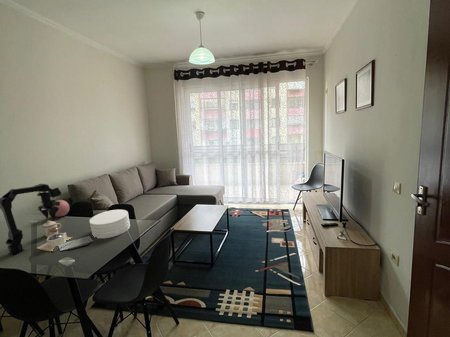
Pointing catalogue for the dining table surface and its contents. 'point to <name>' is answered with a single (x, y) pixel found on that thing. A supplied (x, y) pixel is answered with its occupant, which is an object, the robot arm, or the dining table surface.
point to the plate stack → (109, 223)
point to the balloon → (62, 208)
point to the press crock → (54, 242)
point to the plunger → (54, 234)
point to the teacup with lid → (49, 226)
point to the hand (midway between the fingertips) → (50, 218)
